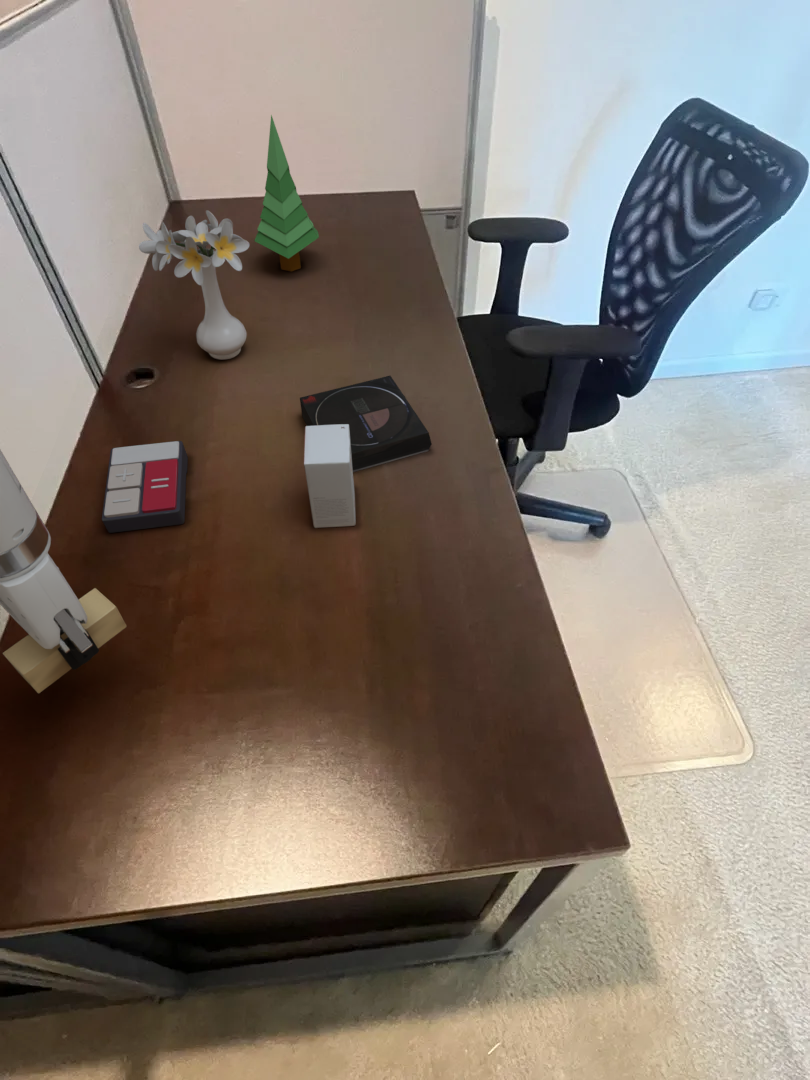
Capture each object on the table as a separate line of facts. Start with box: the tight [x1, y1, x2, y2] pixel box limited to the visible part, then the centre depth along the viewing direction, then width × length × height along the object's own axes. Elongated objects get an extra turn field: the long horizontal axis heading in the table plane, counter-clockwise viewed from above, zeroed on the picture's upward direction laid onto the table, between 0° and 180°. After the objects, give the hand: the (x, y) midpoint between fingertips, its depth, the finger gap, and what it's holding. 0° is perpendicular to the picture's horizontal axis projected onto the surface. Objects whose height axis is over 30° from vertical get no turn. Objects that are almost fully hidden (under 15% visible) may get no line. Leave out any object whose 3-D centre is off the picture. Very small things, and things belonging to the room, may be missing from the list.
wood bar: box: [2, 587, 128, 694], centre depth 73 cm, size 11×4×4 cm, turn 140°
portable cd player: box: [299, 375, 433, 473], centre depth 111 cm, size 16×17×4 cm
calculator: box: [101, 440, 189, 534], centre depth 102 cm, size 11×4×15 cm
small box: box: [303, 424, 357, 529], centre depth 97 cm, size 8×6×13 cm
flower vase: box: [138, 209, 250, 361], centre depth 119 cm, size 13×18×25 cm
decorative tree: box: [254, 114, 320, 272], centre depth 139 cm, size 14×16×30 cm
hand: (72, 646), depth 74 cm, fingers closed on wood bar, 4 cm apart
